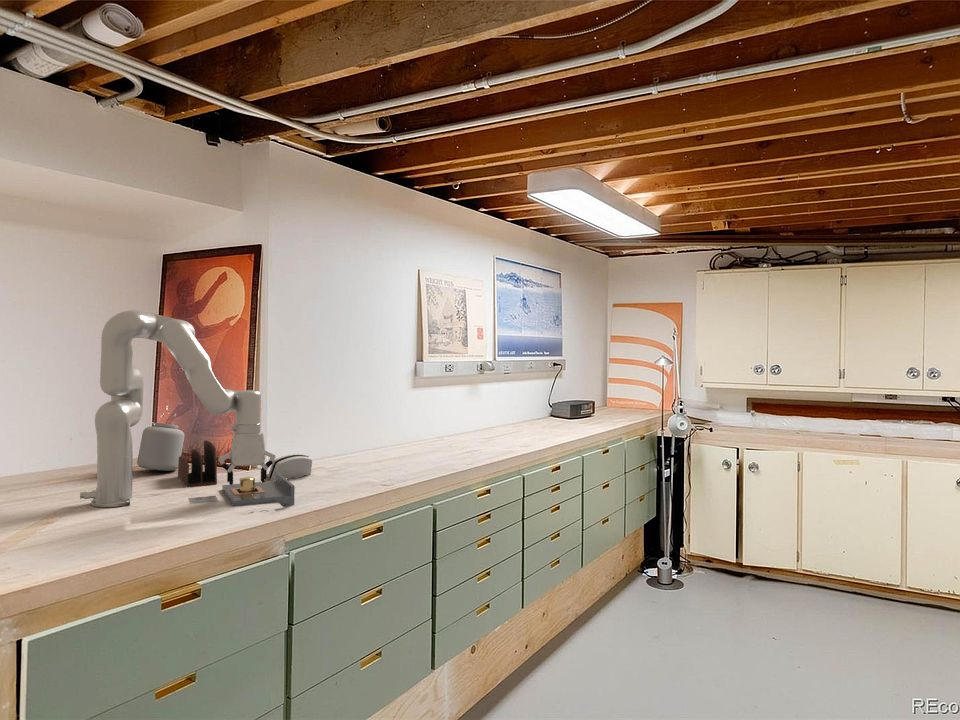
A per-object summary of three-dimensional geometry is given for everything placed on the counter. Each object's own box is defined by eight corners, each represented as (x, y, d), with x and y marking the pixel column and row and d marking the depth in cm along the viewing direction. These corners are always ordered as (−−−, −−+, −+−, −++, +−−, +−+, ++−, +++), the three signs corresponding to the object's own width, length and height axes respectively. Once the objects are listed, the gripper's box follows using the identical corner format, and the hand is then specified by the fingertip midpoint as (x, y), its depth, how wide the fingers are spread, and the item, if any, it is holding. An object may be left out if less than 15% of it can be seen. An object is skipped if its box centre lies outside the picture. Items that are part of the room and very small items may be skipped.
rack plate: (233, 511, 195) (233, 491, 195) (222, 494, 216) (222, 476, 216) (294, 504, 204) (294, 485, 203) (278, 489, 225) (278, 471, 224)
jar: (169, 465, 264) (170, 403, 263) (196, 468, 258) (197, 405, 258) (127, 473, 247) (128, 407, 246) (156, 477, 241) (156, 409, 240)
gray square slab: (190, 508, 197) (190, 503, 196) (188, 502, 204) (188, 498, 203) (218, 506, 200) (218, 501, 200) (215, 500, 207) (215, 495, 207)
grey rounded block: (303, 472, 254) (309, 449, 251) (310, 478, 251) (315, 455, 248) (264, 478, 241) (270, 454, 239) (271, 485, 238) (276, 460, 236)
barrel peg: (240, 502, 205) (241, 480, 205) (238, 499, 209) (238, 477, 209) (255, 501, 207) (256, 479, 207) (253, 498, 211) (253, 476, 211)
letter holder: (206, 475, 247) (206, 437, 247) (217, 485, 230) (217, 445, 230) (177, 477, 241) (177, 439, 241) (186, 488, 225) (186, 447, 224)
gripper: (220, 431, 200) (219, 487, 201) (278, 429, 209) (277, 483, 209) (217, 428, 207) (216, 482, 207) (273, 426, 215) (272, 478, 216)
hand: (247, 482), depth 208 cm, fingers open, 9 cm apart
